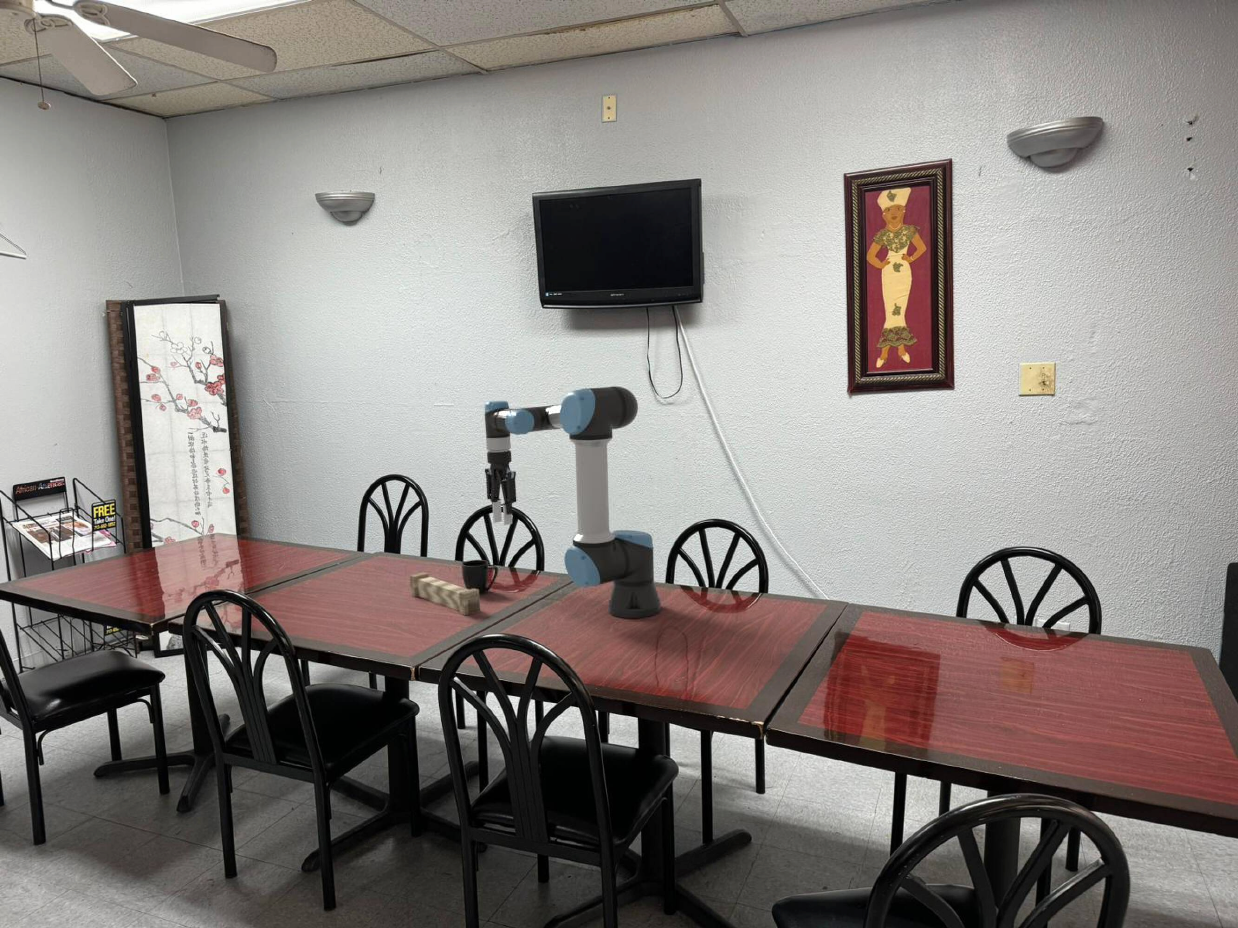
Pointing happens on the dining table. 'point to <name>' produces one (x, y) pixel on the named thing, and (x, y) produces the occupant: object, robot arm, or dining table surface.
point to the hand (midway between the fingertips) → (502, 522)
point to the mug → (477, 575)
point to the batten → (445, 593)
